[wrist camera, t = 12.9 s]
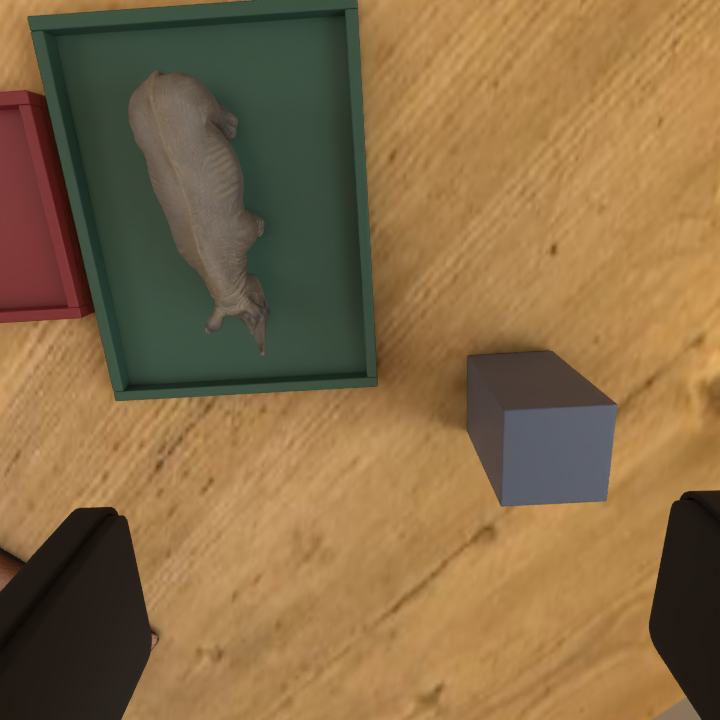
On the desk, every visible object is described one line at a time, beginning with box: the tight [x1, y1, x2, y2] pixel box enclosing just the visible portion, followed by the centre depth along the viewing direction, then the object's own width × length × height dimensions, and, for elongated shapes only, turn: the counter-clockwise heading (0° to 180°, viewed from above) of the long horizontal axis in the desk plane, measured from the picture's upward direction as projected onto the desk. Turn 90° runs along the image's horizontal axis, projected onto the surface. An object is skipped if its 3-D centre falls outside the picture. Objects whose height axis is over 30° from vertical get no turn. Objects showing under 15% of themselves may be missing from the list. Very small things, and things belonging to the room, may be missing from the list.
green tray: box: [28, 0, 378, 401], centre depth 27 cm, size 19×15×2 cm
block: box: [467, 351, 617, 507], centre depth 27 cm, size 5×5×8 cm
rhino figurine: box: [128, 70, 270, 355], centre depth 24 cm, size 4×14×6 cm, turn 14°
